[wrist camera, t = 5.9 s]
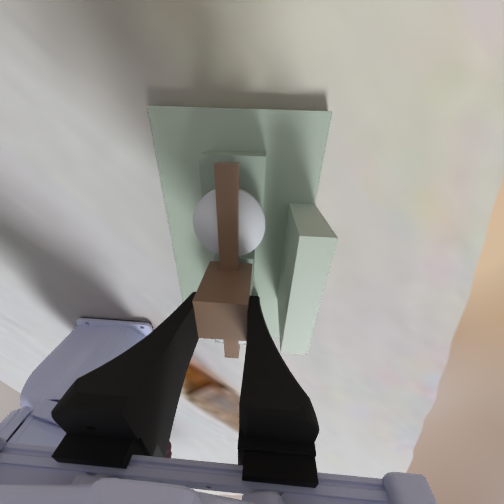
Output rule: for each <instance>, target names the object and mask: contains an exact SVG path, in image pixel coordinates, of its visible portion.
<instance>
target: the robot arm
mask: <svg viewBox="0 0 504 504" xmlns="http://www.w3.org/2000/svg"><path fill="white" fill-rule="evenodd" d="M195 294H196V292H192V293H191V294H190V295H189V297H188V298H187V299H186V300H185V301H184V302H183V303H182V304H181V305H180V306H179V307H178V308H177V309H176V310H175V311H174V312H173V313H172V314H171V315H170V316H169V317H168V318H167V319H166V320H165V321H164V322H162V323H161V324H160V325H159V326H158V327H157V328H156V329H155V330H153V329H152V326H151V324H149V323H145V322H131V321H117V320H103V319H90V318H78V319H77V320H76V324H77V325H78V326H77V327H76V328H75V329H74V330H73V331H72V332H71V333H70V334H69V335H68V336H67V337H66V338H65V339H64V340H63V341H62V342H61V343H60V344H59V345H58V346H57V347H56V348H55V349H54V350H53V351H52V352H51V353H50V354H49V355H48V356H47V357H46V358H45V359H44V361H43V362H42V363H41V364H40V365H39V366H38V367H37V368H36V369H35V370H34V371H33V372H32V374H31V375H30V376H29V378H28V380H27V381H26V383H25V385H24V387H23V390H22V392H21V396H20V405H21V409H17V410H14V411H12V412H11V413H10V414H9V415H8V416H7V417H6V418H5V419H4V420H3V421H2V422H1V423H0V504H437V502H436V500H435V497H434V495H433V493H432V491H431V489H430V487H429V484H428V482H427V480H426V478H425V477H424V476H423V475H420V474H410V473H399V472H391V473H387V474H385V475H384V477H383V479H378V478H368V477H358V476H348V475H337V474H327V473H317V468H316V461H315V457H316V450H315V444H314V442H315V440H316V438H317V436H318V433H319V425H318V421H317V418H316V414H315V411H314V409H313V406H312V403H311V401H310V398H309V397H308V396H307V394H306V393H305V392H304V390H303V389H302V388H301V386H300V385H299V384H298V382H297V381H296V379H295V378H294V376H293V375H292V373H291V372H290V370H289V369H288V367H287V365H286V364H285V362H284V360H283V359H282V357H281V355H280V353H279V352H278V350H277V348H276V346H275V344H274V342H273V340H272V337H271V335H270V333H269V330H268V328H267V325H266V322H265V319H264V316H263V313H262V309H261V305H260V297H259V296H251V295H250V297H249V304H248V310H247V341H246V354H245V363H244V371H243V380H242V388H241V396H240V403H239V438H238V465H235V464H225V463H215V462H204V461H194V460H184V459H174V458H165V457H166V452H167V447H168V443H169V439H170V434H171V430H172V425H173V421H174V417H175V413H176V409H177V405H178V401H179V397H180V393H181V389H182V386H183V382H184V379H185V375H186V371H187V368H188V365H189V363H190V360H191V357H192V355H193V352H194V349H195V347H196V344H197V342H198V339H199V338H198V332H197V326H196V319H195V312H194V306H193V302H192V301H193V298H194V296H195ZM190 488H194V489H204V490H213V491H223V492H233V493H242V494H244V495H243V496H242V500H238V499H232V498H228V497H222V496H218V495H213V494H208V493H203V492H197V491H194V490H193V489H190Z"/></svg>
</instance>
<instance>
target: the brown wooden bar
mask: <svg viewBox="0 0 504 504" xmlns="http://www.w3.org/2000/svg"><path fill="white" fill-rule="evenodd" d="M214 175H215V189H214V190H212V191H210V192H208V193H207V194H206V195H205V196H204V197H203V198H202V199H201V200H200V201H199V202H198V204H197V205H196V207H195V210H194V213H193V228H194V231H195V234H196V236H197V238H198V239H199V241H200V242H201V243H202V244H203V245H204V246H205V247H206V248H207V249H208V250H210V251H212V252H213V253H215V254H218V255H219V262H217V261H210V262H209V265H208V267H207V269H206V271H205V274H204V276H203V278H202V280H201V283H200V285H199V287H198V289H197V292H196V294H195V296H194V298H193V301H192V302H193V306H194V312H195V319H196V326H197V332H198V338H210V339H216V340H218V341H220V342H222V343H224V350H225V357H228V358H238V357H239V349H240V344H244V343H246V341H247V310H248V304H249V297H250V295H251V289H252V264H250V263H240V256H243V255H245V254H248V253H250V252H251V251H253V250H254V249H255V248H256V247H257V246H258V245H259V244H260V242H261V240H262V238H263V236H264V232H265V215H264V212H263V209H262V207H261V205H260V204H259V202H258V201H257V200H256V199H255V198H254V197H253V196H252V195H251V194H250V193H248V192H246V191H245V190H242V189H240V163H239V162H216V163H215V164H214Z"/></svg>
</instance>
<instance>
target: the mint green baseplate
mask: <svg viewBox="0 0 504 504" xmlns="http://www.w3.org/2000/svg"><path fill="white" fill-rule="evenodd" d="M147 108H148V113H149V119H150V124H151V130H152V135H153V141H154V146H155V152H156V157H157V162H158V168H159V173H160V179H161V184H162V190H163V195H164V200H165V206H166V211H167V217H168V222H169V228H170V233H171V239H172V244H173V249H174V255H175V260H176V266H177V271H178V277H179V282H180V288H181V293H182V298H183V302H184V301H185V300H186V299H187V298H188V297H189V295H190V294H191V293H192V292H197V289H198V287H199V285H200V283H201V280H202V278H203V276H204V274H205V271H206V269H207V267H208V265H209V262H210V261H217V262H219V255H218V254H215V253H213V252H212V251H210V250H208V249H207V248H206V247H205V246H204V245H203V244H202V243H201V242H200V241H199V239H198V238H197V236H196V234H195V231H194V228H193V213H194V210H195V207H196V205H197V204H198V202H199V201H200V200H201V199H202V198H203V197H204V196H205V195H206V194H207V193H208V192H210V191H212V190H214V189H215V175H214V164H215V163H216V162H239V163H240V189H242V190H245V191H246V192H248V193H250V194H251V195H252V196H253V197H254V198H255V199H256V200H257V201H258V202H259V204H260V205H261V207H262V209H263V212H264V215H265V232H264V236H263V238H262V240H261V242H260V244H259V245H258V246H257V247H256V248H255V249H254V250H253V251H251V252H250V253H248V254H245V255H243V256H240V263H250V264H252V289H251V296H259V297H260V305H261V309H262V313H263V316H264V319H265V322H266V325H267V328H268V330H269V333H270V335H271V337H277V338H280V350H281V353H291V354H304V355H307V352H308V348H309V344H310V340H311V337H312V333H313V329H314V325H315V322H316V318H317V314H318V310H319V307H320V303H321V299H322V295H323V292H324V288H325V284H326V281H327V277H328V273H329V269H330V266H331V262H332V258H333V254H334V251H335V247H336V243H337V239H338V237H337V236H336V235H335V233H334V232H333V230H332V229H331V227H330V226H329V224H328V223H327V221H326V220H325V218H324V217H323V216H322V214H321V213H320V211H319V210H318V208H317V207H316V205H315V201H316V195H317V190H318V185H319V179H320V174H321V169H322V163H323V158H324V153H325V147H326V142H327V137H328V131H329V126H330V121H331V115H332V111H307V110H276V109H244V108H212V107H181V106H149V105H147ZM215 342H220V341H218V340H216V339H215ZM221 343H222V342H221ZM244 344H246V343H244Z"/></svg>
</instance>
